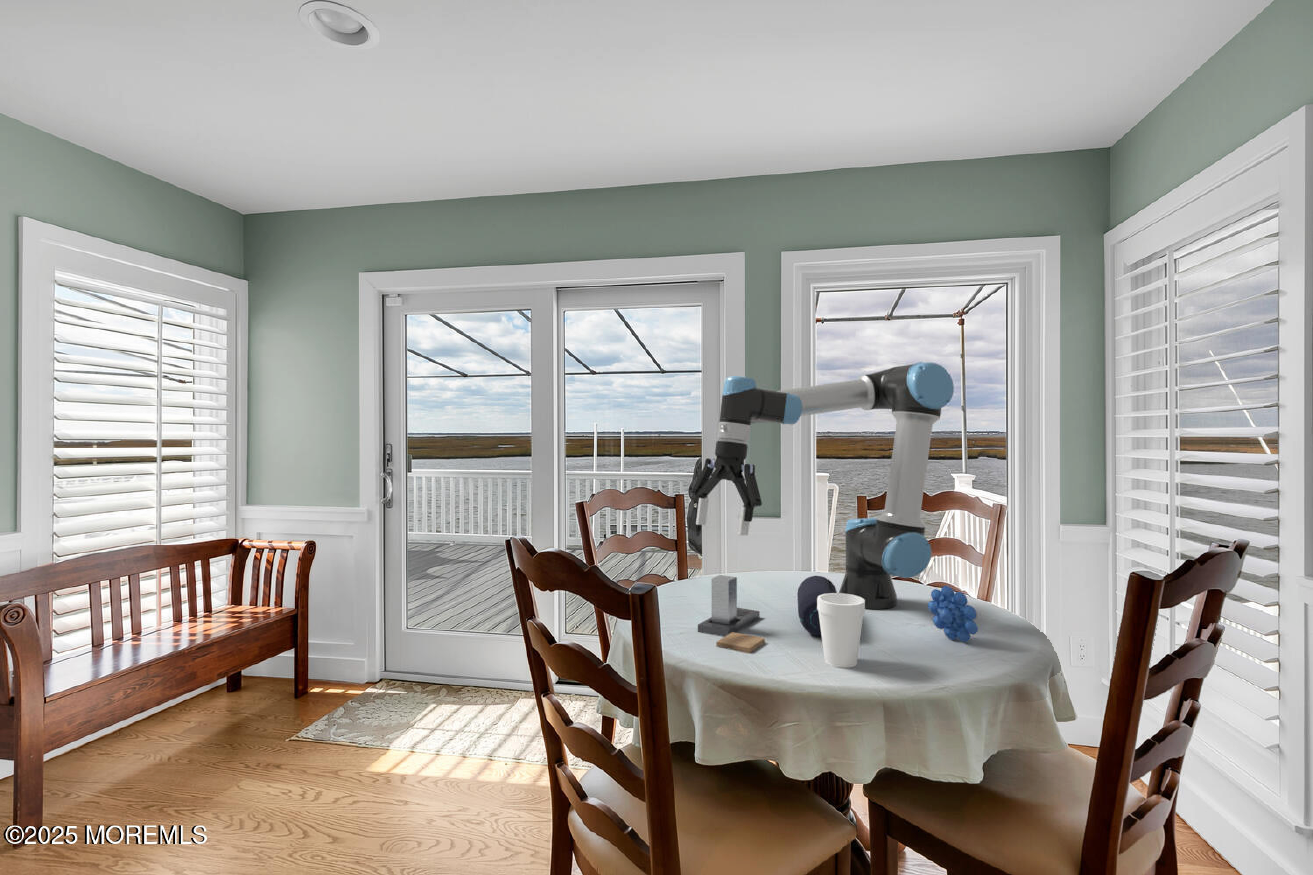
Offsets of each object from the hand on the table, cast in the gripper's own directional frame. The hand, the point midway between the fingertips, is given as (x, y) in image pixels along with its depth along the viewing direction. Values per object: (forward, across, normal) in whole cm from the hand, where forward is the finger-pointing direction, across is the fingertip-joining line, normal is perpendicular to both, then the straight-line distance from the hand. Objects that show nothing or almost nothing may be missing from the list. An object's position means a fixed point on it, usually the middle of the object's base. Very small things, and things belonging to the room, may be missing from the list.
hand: (721, 529), depth 155 cm
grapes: (+17, +42, +34) cm, 57 cm away
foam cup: (+21, +33, +4) cm, 40 cm away
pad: (+23, +12, -2) cm, 26 cm away
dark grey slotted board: (+23, +1, +7) cm, 24 cm away
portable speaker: (+21, +15, +23) cm, 34 cm away
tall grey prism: (+23, +1, +4) cm, 24 cm away
